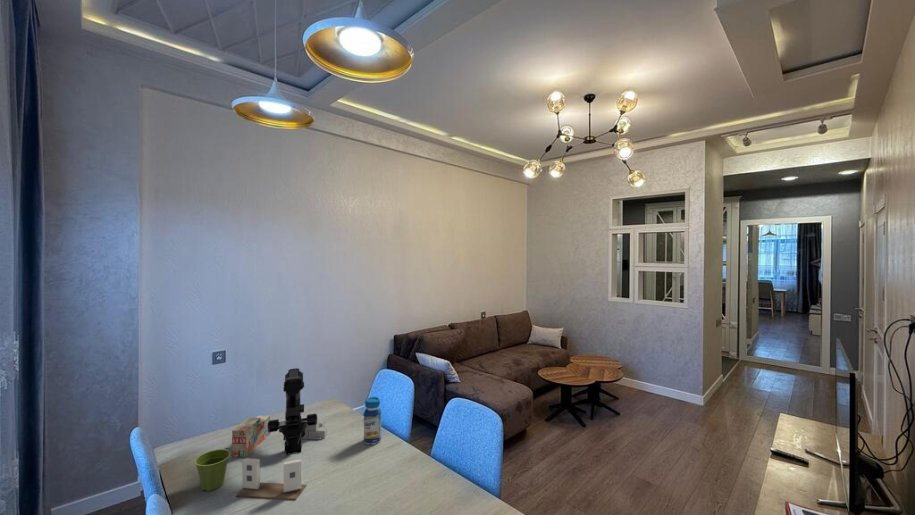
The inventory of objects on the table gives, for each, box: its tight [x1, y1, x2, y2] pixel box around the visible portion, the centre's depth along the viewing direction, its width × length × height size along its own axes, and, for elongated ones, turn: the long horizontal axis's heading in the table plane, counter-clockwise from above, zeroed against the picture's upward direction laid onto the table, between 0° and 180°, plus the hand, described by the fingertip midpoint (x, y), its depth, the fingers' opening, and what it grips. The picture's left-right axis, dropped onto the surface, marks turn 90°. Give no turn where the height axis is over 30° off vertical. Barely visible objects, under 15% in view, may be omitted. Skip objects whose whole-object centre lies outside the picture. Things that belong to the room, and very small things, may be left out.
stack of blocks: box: [231, 415, 271, 458], centre depth 177 cm, size 21×6×12 cm, turn 179°
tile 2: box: [241, 457, 261, 489], centre depth 143 cm, size 2×6×11 cm, turn 83°
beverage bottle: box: [363, 396, 383, 445], centre depth 181 cm, size 8×8×20 cm
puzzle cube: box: [301, 411, 328, 440], centre depth 189 cm, size 12×12×8 cm
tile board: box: [235, 482, 307, 501], centre depth 143 cm, size 8×23×1 cm, turn 86°
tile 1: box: [283, 458, 302, 493], centre depth 142 cm, size 2×6×11 cm, turn 113°
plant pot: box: [193, 448, 232, 492], centre depth 146 cm, size 12×12×11 cm
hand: (292, 444), depth 151 cm, fingers open, 3 cm apart
